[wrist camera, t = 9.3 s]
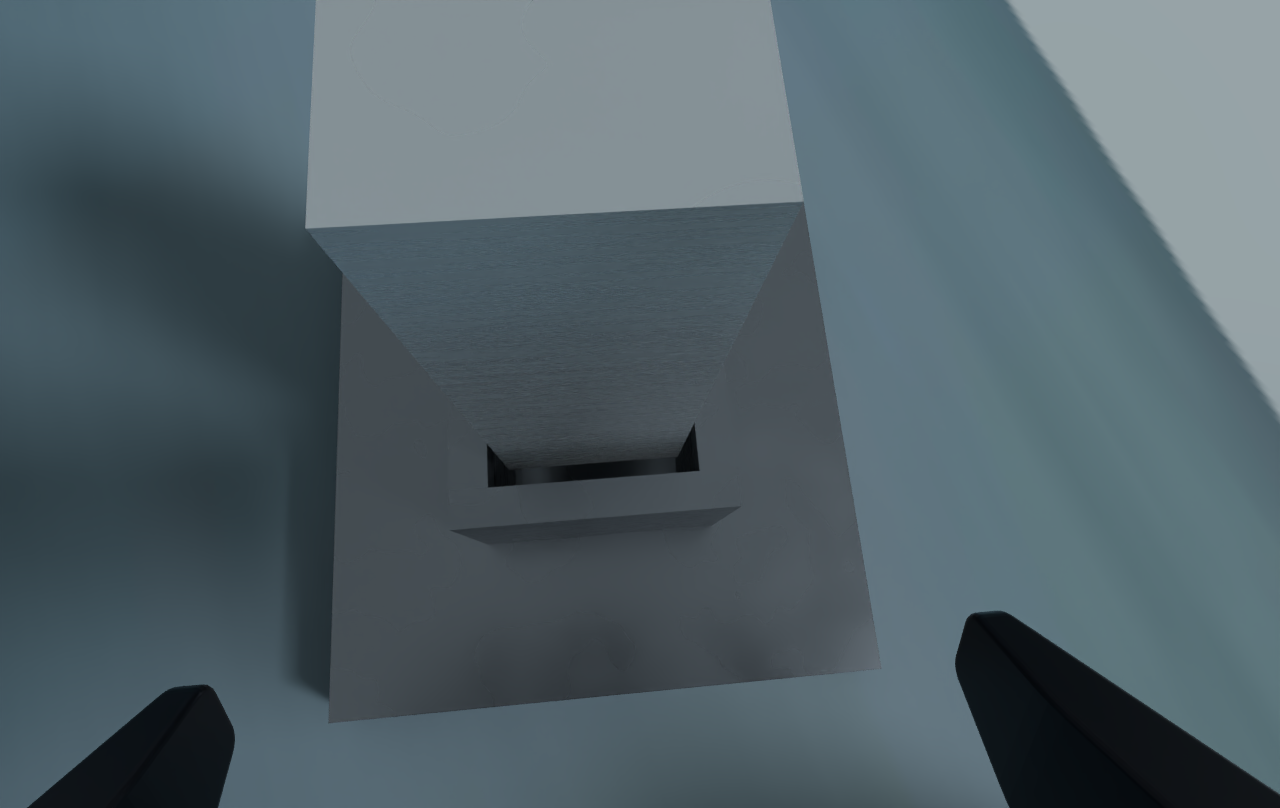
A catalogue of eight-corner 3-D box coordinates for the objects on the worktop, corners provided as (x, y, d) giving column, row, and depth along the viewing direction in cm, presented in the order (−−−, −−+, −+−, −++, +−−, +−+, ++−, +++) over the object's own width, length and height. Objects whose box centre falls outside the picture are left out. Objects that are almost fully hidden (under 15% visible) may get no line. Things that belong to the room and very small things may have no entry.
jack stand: (861, 662, 19) (969, 694, 13) (351, 712, 18) (230, 769, 12) (789, 218, 23) (850, 91, 17) (362, 242, 22) (272, 117, 16)
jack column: (676, 457, 15) (803, 201, 5) (509, 470, 15) (305, 227, 5) (661, 300, 16) (740, -170, 6) (503, 310, 16) (324, -162, 6)
